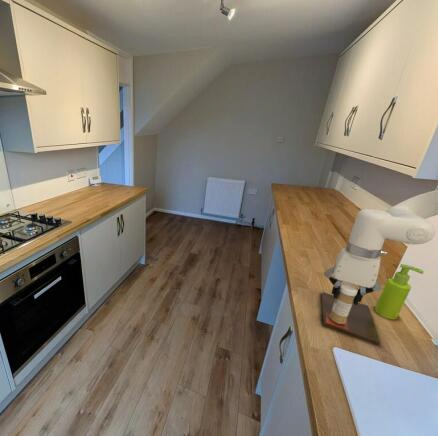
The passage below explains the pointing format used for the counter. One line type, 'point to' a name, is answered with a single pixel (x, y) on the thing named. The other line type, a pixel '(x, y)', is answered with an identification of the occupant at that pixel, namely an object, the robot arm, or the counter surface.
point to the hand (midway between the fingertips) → (344, 298)
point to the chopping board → (351, 320)
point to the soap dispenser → (395, 293)
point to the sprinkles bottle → (343, 303)
